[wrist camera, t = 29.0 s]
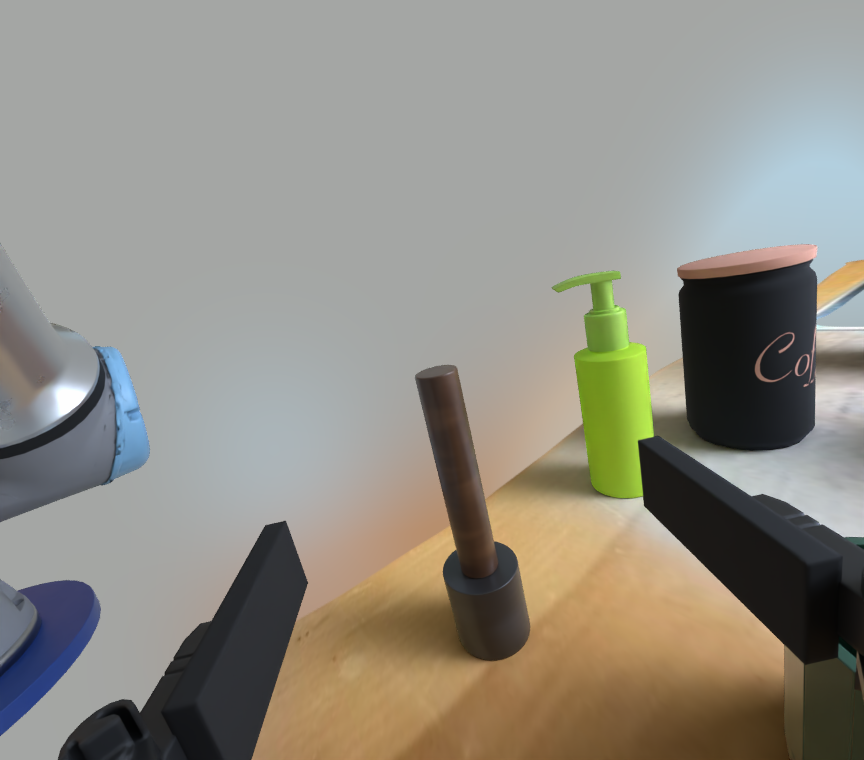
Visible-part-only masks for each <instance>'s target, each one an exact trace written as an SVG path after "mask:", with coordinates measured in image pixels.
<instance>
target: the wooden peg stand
mask: <svg viewBox="0 0 864 760" xmlns="http://www.w3.org/2000/svg"><path fill="white" fill-rule="evenodd" d="M415 380H416V384H417V388H418V392H419V396H420V400H421V405H422V409H423V413H424V417H425V421H426V425H427V430H428V434H429V438H430V442H431V446H432V450H433V454H434V459H435V463H436V467H437V471H438V475H439V479H440V483H441V487H442V492H443V496H444V500H445V504H446V508H447V512H448V516H449V521H450V525H451V529H452V533H453V537H454V542H455V546H456V550H455V551H454V552H453V553H452V554H451V555H450V556H449V557H448V559H447V560H446V562H445V564H444V567H443V577H444V581H445V585H446V589H447V593H448V597H449V600H450V604H451V608H452V612H453V616H454V620H455V624H456V628H457V632H458V636H459V639H460V642H461V644H462V645H463V647H464V648H465V649H466V650H467V651H468V652H469V653H470V654H472V655H473V656H475V657H477V658H480V659H484V660H500V659H504V658H507V657H510V656H512V655H513V654H515V653H516V652H518V651H519V650H520V649H521V648H522V647H523V646H524V644H525V643H526V641H527V639H528V637H529V633H530V621H529V616H528V611H527V606H526V601H525V596H524V591H523V586H522V581H521V576H520V571H519V566H518V561H517V557H516V555H515V554H514V552H513V551H512V550H511V549H510V548H509V547H507V546H506V545H504V544H501V543H499V542H494V540H493V535H492V530H491V525H490V521H489V516H488V511H487V507H486V502H485V497H484V493H483V488H482V483H481V478H480V474H479V469H478V464H477V460H476V455H475V450H474V445H473V441H472V436H471V431H470V427H469V422H468V417H467V413H466V408H465V403H464V399H463V394H462V389H461V384H460V380H459V375H458V370H457V368H456V366H454V365H441V366H436V367H432V368H428V369H425V370H423V371H421V372H419V373H418V374H416V375H415Z"/></svg>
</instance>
